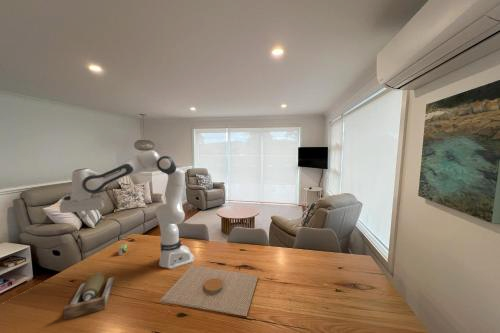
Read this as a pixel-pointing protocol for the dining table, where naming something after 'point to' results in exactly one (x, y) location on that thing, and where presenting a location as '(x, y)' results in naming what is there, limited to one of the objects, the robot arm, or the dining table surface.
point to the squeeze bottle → (93, 286)
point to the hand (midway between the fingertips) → (83, 218)
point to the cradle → (87, 302)
